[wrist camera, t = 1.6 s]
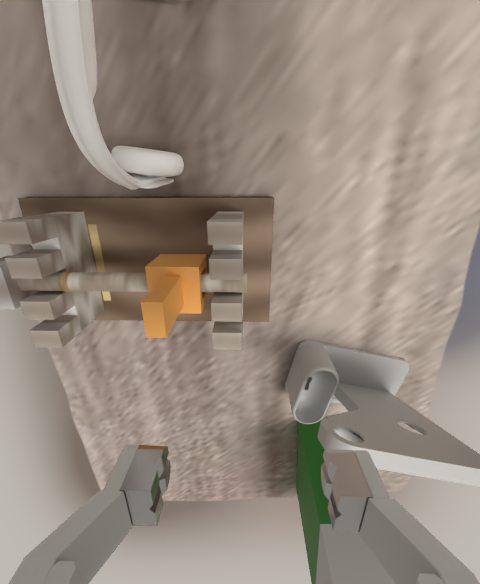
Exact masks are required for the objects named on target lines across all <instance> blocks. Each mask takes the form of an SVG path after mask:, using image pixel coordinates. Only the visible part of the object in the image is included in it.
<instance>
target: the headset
mask: <svg viewBox="0 0 480 584" xmlns="http://www.w3.org/2000/svg"><path fill="white" fill-rule="evenodd" d="M42 4H43V11H44V19H45V26H46V33H47V39H48V45H49V52H50V57H51V63H52V68H53V73H54V78H55V83H56V87H57V91H58V95H59V99H60V103H61V106H62V109H63V112H64V115H65V118H66V121H67V124H68V126H69V129H70V131H71V133H72V135H73V137H74V139H75V141H76V143H77V145H78V147H79V148H80V150H81V151H82V153H83V154H84V156H85V157H86V158H87V160H88V161H89V162H90V163H91V164H92V165H93V166H94V167H95V168H96V169H97V170H98V171H99V172H100V173H101V174H103V175H104V176H105V177H107V178H108V179H110V180H111V181H113V182H115V183H116V184H118V185H123V186H124V187H126V188H128V189H130V190H136V189H138V188H146V189H152V188H157V187H160V186H164V185H167V184H170V183H172V182H174V179H171V178H165V177H172V176H177V175H180V174H181V173H182V171H183V168H184V163H183V159H182V157H181V156H180V155H179V154H177V153H173V152H167V151H160V150H153V149H145V148H138V147H130V146H116V147H114V148H113V149H112V152H111V153H110V152H109V150H108V148H107V146H106V144H105V142H104V139H103V137H102V134H101V131H100V128H99V125H98V121H97V117H96V113H95V109H94V104H93V98H94V96H95V94H96V90H97V58H96V46H95V34H94V22H93V9H92V0H42ZM127 172H130V173H135V174H140V175H139V176H131V175H129V174H128V173H127Z"/></svg>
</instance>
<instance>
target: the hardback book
mask: <svg viewBox="0 0 480 584" xmlns="http://www.w3.org/2000/svg"><path fill="white" fill-rule="evenodd" d="M320 423H321V420H320V421H319V422H316V423H313V424H303V423H300V422H298V447H297V494H298V500H299V505H300V512H301V518H302V525H303V531H304V537H305V543H306V550H307V556H308V563H309V569H310V575H311V581H312V584H395V582H394V581H393V580H392V578H391V577H390V576H389V574H388V573H387V572H386V570H385V569H384V568H383V566H382V565H381V564H380V562H379V561H378V559H377V558H376V557H375V555H374V554H373V553H372V551H371V550H370V549H369V547H368V546H367V545H366V543H365V542H364V541H363V539H362V538H361V537H360V535H359V533H353V532H337V531H333V528H332V524H331V520H330V516H329V512H328V504H329V500H328V498H327V497H326V496H325V495H324V492H323V488H322V482H321V466H322V464H323V463H324V458H323V453H324V451H325V449H324V448H323V446H322V445H321V443H320V441H319V440H318V432H319V427H320Z"/></svg>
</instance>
